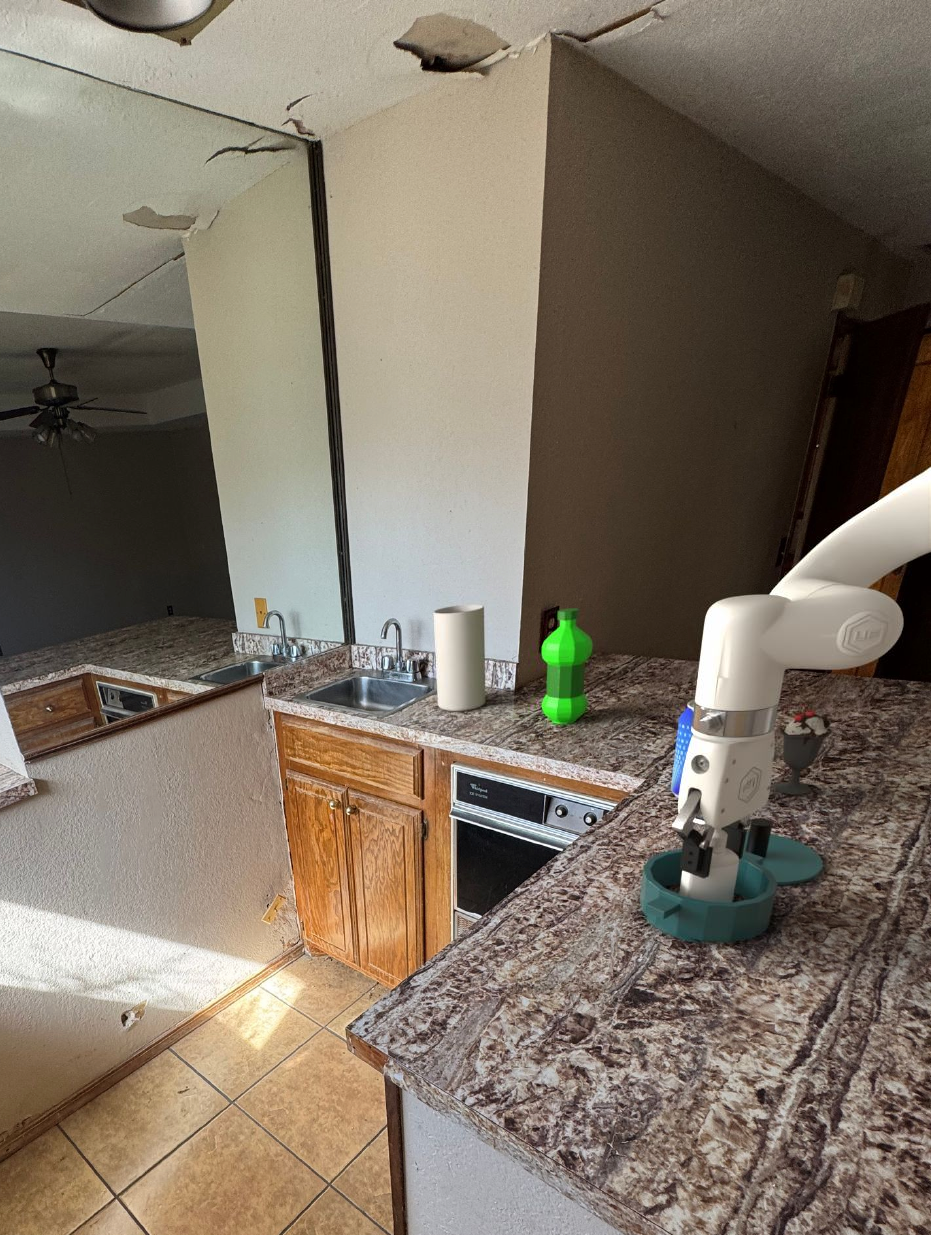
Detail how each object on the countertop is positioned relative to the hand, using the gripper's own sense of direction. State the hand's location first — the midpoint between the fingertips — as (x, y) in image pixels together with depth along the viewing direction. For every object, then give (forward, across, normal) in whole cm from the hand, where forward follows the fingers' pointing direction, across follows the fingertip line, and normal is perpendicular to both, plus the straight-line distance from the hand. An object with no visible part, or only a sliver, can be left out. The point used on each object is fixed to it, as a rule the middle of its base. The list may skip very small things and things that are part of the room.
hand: (710, 863), depth 77 cm
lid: (+7, +16, +3) cm, 17 cm away
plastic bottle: (+7, +49, +65) cm, 82 cm away
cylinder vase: (+7, +44, +95) cm, 105 cm away
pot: (+7, 0, 0) cm, 7 cm away
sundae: (+7, +42, +12) cm, 44 cm away
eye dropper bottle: (+7, 0, 0) cm, 7 cm away
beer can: (+7, +30, +20) cm, 37 cm away
